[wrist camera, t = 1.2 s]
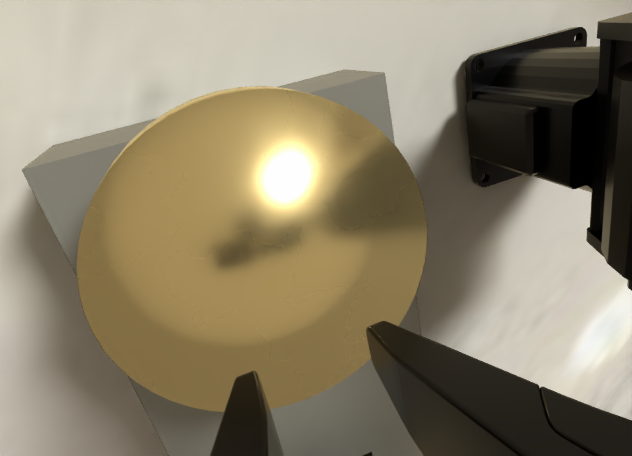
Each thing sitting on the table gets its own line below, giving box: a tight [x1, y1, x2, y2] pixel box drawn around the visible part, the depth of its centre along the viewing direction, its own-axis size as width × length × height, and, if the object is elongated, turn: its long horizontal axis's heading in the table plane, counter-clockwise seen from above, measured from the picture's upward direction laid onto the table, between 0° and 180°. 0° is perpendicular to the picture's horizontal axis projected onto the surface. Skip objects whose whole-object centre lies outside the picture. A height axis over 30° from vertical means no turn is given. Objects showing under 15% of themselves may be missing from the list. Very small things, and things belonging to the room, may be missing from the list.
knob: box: [77, 86, 427, 412], centre depth 15 cm, size 10×10×5 cm
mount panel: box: [22, 70, 424, 456], centre depth 21 cm, size 12×24×4 cm, turn 14°
